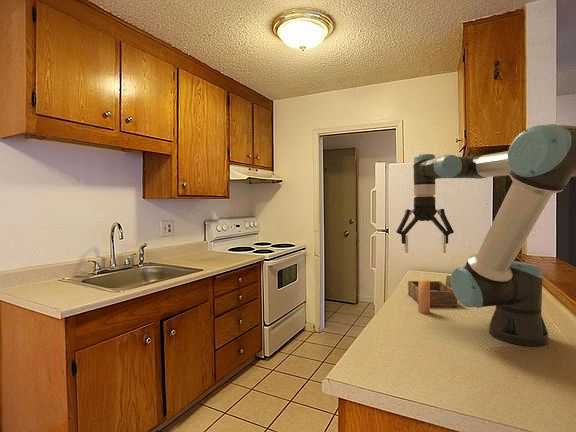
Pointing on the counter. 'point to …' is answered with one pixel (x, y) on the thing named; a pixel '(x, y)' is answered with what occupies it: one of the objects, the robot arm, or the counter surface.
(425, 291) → the peg
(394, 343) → the counter surface
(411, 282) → the crate
